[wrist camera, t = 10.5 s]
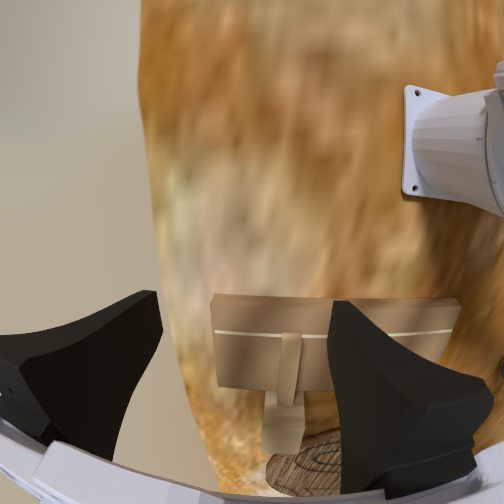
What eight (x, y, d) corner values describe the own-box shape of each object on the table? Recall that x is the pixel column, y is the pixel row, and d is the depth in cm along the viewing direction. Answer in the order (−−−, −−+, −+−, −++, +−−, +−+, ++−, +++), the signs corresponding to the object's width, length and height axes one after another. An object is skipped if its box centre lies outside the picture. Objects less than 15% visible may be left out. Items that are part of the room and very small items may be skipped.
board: (453, 297, 20) (462, 306, 19) (424, 371, 24) (430, 382, 22) (214, 293, 22) (209, 304, 21) (221, 374, 25) (217, 386, 24)
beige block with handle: (312, 319, 22) (319, 365, 17) (296, 417, 27) (296, 458, 22) (269, 318, 23) (265, 364, 17) (264, 416, 27) (260, 457, 22)
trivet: (385, 484, 35) (387, 492, 33) (256, 488, 37) (255, 497, 35) (458, 408, 26) (462, 417, 24) (282, 416, 28) (282, 429, 26)
